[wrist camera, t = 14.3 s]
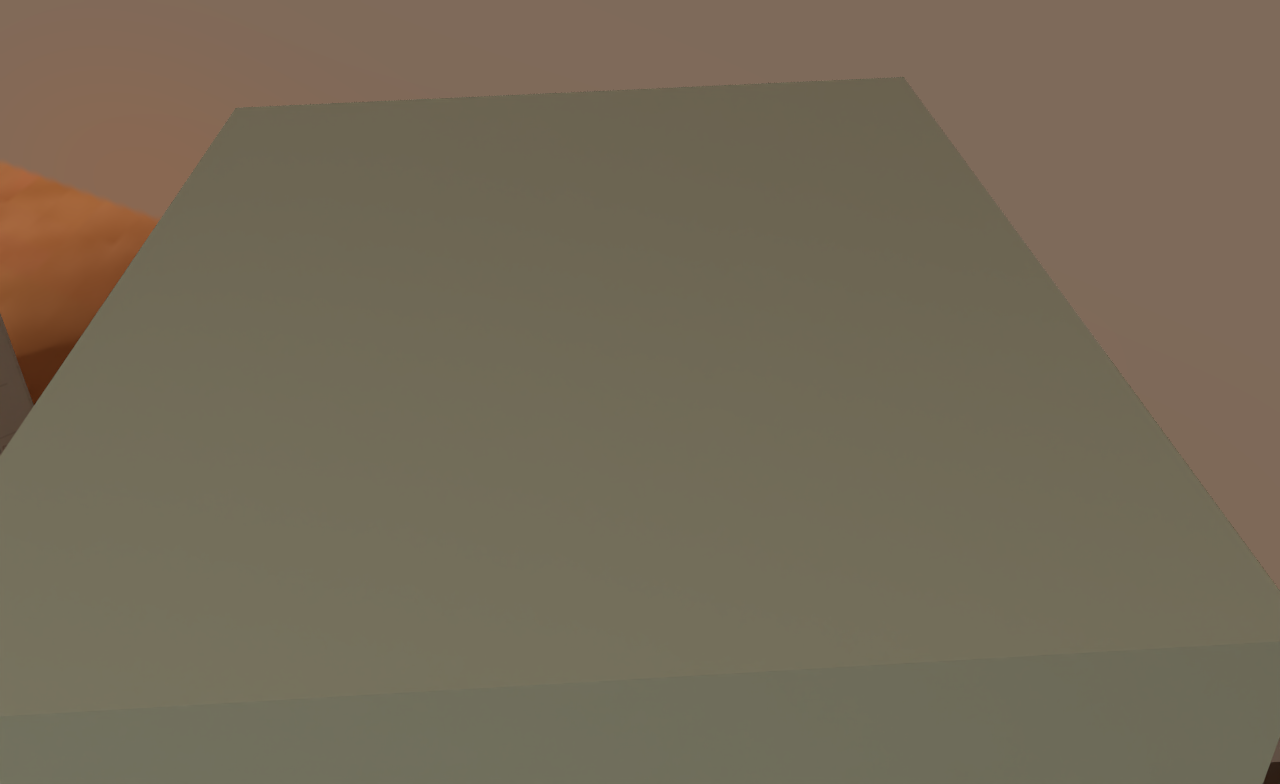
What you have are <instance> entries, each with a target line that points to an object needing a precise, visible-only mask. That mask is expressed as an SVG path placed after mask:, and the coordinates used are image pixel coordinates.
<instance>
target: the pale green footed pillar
mask: <svg viewBox="0 0 1280 784" xmlns="http://www.w3.org/2000/svg"><path fill="white" fill-rule="evenodd" d="M1279 738H1280V590H1279V589H1278V588H1277V586H1276V585H1275V584H1274V582H1273V581H1272V579H1271V578H1270V577H1269V575H1268V574H1267V573H1266V571H1265V570H1264V568H1263V567H1262V566H1261V564H1260V563H1259V562H1258V560H1257V559H1256V558H1255V556H1254V555H1253V554H1252V552H1251V551H1250V549H1249V548H1248V547H1247V545H1246V544H1245V543H1244V541H1243V540H1242V539H1241V538H1240V536H1239V535H1238V533H1237V532H1236V530H1235V529H1234V527H1233V526H1232V525H1231V523H1230V522H1229V521H1228V520H1227V518H1226V517H1225V515H1224V514H1223V512H1222V511H1221V510H1220V508H1219V507H1218V506H1217V504H1216V503H1215V502H1214V500H1213V499H1212V498H1211V496H1210V495H1209V493H1208V492H1207V491H1206V489H1205V488H1204V487H1203V485H1202V484H1201V482H1200V481H1199V480H1198V478H1197V477H1196V476H1195V475H1194V473H1193V472H1192V470H1191V469H1190V468H1189V466H1188V465H1187V463H1186V462H1185V461H1184V459H1183V458H1182V457H1181V455H1180V454H1179V452H1178V451H1177V450H1176V448H1175V447H1174V446H1173V444H1172V443H1171V442H1170V440H1169V439H1168V437H1167V436H1166V435H1165V433H1164V432H1163V431H1162V429H1161V428H1160V427H1159V425H1158V424H1157V422H1156V421H1155V420H1154V418H1153V417H1152V416H1151V414H1150V413H1149V411H1148V410H1147V409H1146V408H1145V406H1144V405H1143V403H1142V402H1141V401H1140V399H1139V398H1138V396H1137V395H1136V394H1135V392H1134V391H1133V390H1132V389H1131V387H1130V385H1129V384H1128V383H1127V382H1126V380H1125V379H1124V377H1123V376H1122V375H1121V373H1120V372H1119V370H1118V369H1117V368H1116V366H1115V365H1114V364H1113V362H1112V361H1111V360H1110V358H1109V357H1108V355H1107V354H1106V353H1105V351H1104V350H1103V349H1102V347H1101V346H1100V344H1099V343H1098V342H1097V340H1096V339H1095V338H1094V336H1093V335H1092V334H1091V332H1090V331H1089V329H1088V328H1087V327H1086V325H1085V324H1084V323H1083V321H1082V320H1081V319H1080V317H1079V316H1078V315H1077V313H1076V312H1075V311H1074V309H1073V308H1072V306H1071V305H1070V304H1069V302H1068V301H1067V299H1066V298H1065V297H1064V295H1063V294H1062V293H1061V291H1060V290H1059V289H1058V287H1057V286H1056V284H1055V283H1054V282H1053V280H1052V279H1051V278H1050V276H1049V275H1048V274H1047V272H1046V271H1045V269H1044V268H1043V267H1042V265H1041V264H1040V263H1039V261H1038V260H1037V259H1036V257H1035V256H1034V255H1033V253H1032V252H1031V250H1030V249H1029V248H1028V246H1027V245H1026V243H1025V242H1024V241H1023V240H1022V238H1021V237H1020V235H1019V234H1018V233H1017V231H1016V230H1015V229H1014V227H1013V226H1012V224H1011V223H1010V222H1009V220H1008V219H1007V217H1006V216H1005V215H1004V213H1003V212H1002V211H1001V209H1000V208H999V207H998V205H997V204H996V203H995V201H994V200H993V199H992V197H991V196H990V194H989V193H988V192H987V190H986V189H985V187H984V186H983V185H982V184H981V182H980V181H979V179H978V178H977V177H976V175H975V174H974V172H973V171H972V170H971V168H970V167H969V166H968V164H967V163H966V161H965V160H964V159H963V157H962V156H961V155H960V153H959V152H958V151H957V149H956V148H955V147H954V145H953V144H952V142H951V141H950V140H949V139H948V137H947V136H946V135H945V133H944V132H943V130H942V129H941V127H940V126H939V125H938V123H937V122H936V121H935V119H934V118H933V117H932V115H931V114H930V112H929V111H928V110H927V108H926V107H925V106H924V104H923V103H922V102H921V100H920V99H919V97H918V96H917V95H916V93H915V92H914V91H913V89H912V88H911V86H910V85H909V84H908V82H907V81H906V80H905V78H904V77H897V78H874V79H854V80H853V79H852V80H832V81H809V82H787V83H768V84H767V83H766V84H744V85H724V86H702V87H681V88H680V87H679V88H657V89H637V90H615V91H594V92H571V93H549V94H528V95H506V96H484V97H462V98H441V99H419V100H398V101H377V102H354V103H332V104H312V105H311V104H310V105H289V106H269V107H246V108H236V109H235V110H234V112H233V113H232V114H231V116H230V117H229V119H228V121H227V122H226V123H225V125H224V126H223V128H222V129H221V131H220V132H219V134H218V135H217V137H216V138H215V140H214V141H213V143H212V144H211V145H210V147H209V148H208V150H207V151H206V153H205V154H204V156H203V157H202V159H201V160H200V162H199V163H198V165H197V166H196V168H195V169H194V171H193V172H192V173H191V175H190V176H189V178H188V179H187V181H186V182H185V184H184V185H183V187H182V188H181V190H180V191H179V193H178V194H177V196H176V197H175V199H174V200H173V202H172V203H171V204H170V206H169V207H168V209H167V210H166V212H165V213H164V215H163V216H162V218H161V219H160V221H159V222H158V224H157V225H156V227H155V228H154V229H153V231H152V232H151V234H150V235H149V237H148V238H147V240H146V241H145V243H144V244H143V246H142V247H141V249H140V250H139V252H138V253H137V255H136V256H135V258H134V259H133V260H132V262H131V263H130V265H129V266H128V268H127V269H126V271H125V272H124V274H123V275H122V277H121V278H120V280H119V281H118V283H117V284H116V286H115V287H114V289H113V290H112V291H111V293H110V294H109V296H108V297H107V299H106V300H105V302H104V303H103V305H102V306H101V308H100V309H99V311H98V312H97V314H96V315H95V317H94V318H93V319H92V321H91V322H90V324H89V325H88V327H87V328H86V330H85V331H84V333H83V334H82V336H81V337H80V339H79V340H78V342H77V343H76V345H75V346H74V348H73V349H72V350H71V352H70V353H69V355H68V356H67V358H66V359H65V361H64V362H63V364H62V365H61V367H60V368H59V370H58V371H57V373H56V374H55V376H54V377H53V379H52V380H51V381H50V383H49V384H48V386H47V387H46V389H45V390H44V392H43V393H42V395H41V396H40V398H39V399H38V401H37V402H36V404H35V405H34V407H33V408H32V410H31V411H30V412H29V414H28V415H27V417H26V418H25V420H24V421H23V423H22V424H21V426H20V427H19V429H18V430H17V432H16V433H15V435H14V436H13V438H12V439H11V440H10V442H9V443H8V445H7V446H6V448H5V449H4V451H3V452H2V454H1V455H0V784H1263V782H1264V779H1265V776H1266V774H1267V771H1268V768H1269V765H1270V763H1271V760H1272V757H1273V754H1274V752H1275V749H1276V746H1277V743H1278V741H1279Z"/></svg>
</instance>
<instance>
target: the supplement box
mask: <svg viewBox="0 0 1280 784" xmlns="http://www.w3.org/2000/svg"><path fill="white" fill-rule="evenodd" d="M33 407H34V405H33V402H32V399H31V396H30V394H29V391H28V388H27V385H26V383H25V380H24V377H23V375H22V372H21V369H20V366H19V364H18V361H17V358H16V355H15V352H14V350H13V347H12V344H11V341H10V339H9V336H8V333H7V330H6V328H5V325H4V322H3V319H2V317H1V314H0V455H1V454H2V452H3V451H4V449H5V448H6V446H7V445H8V443H9V442H10V440H11V439H12V438H13V436H14V435H15V433H16V432H17V430H18V429H19V427H20V426H21V424H22V423H23V421H24V420H25V418H26V417H27V415H28V414H29V412H30V411H31V410H32V408H33Z"/></svg>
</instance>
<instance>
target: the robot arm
mask: <svg viewBox="0 0 1280 784" xmlns="http://www.w3.org/2000/svg"><path fill="white" fill-rule="evenodd" d="M1263 784H1280V738H1279V741H1278V743H1277V746H1276V749H1275V752H1274V754H1273V757H1272V760H1271V763H1270V765H1269V768H1268V771H1267V774H1266V776H1265V779H1264V782H1263Z"/></svg>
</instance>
